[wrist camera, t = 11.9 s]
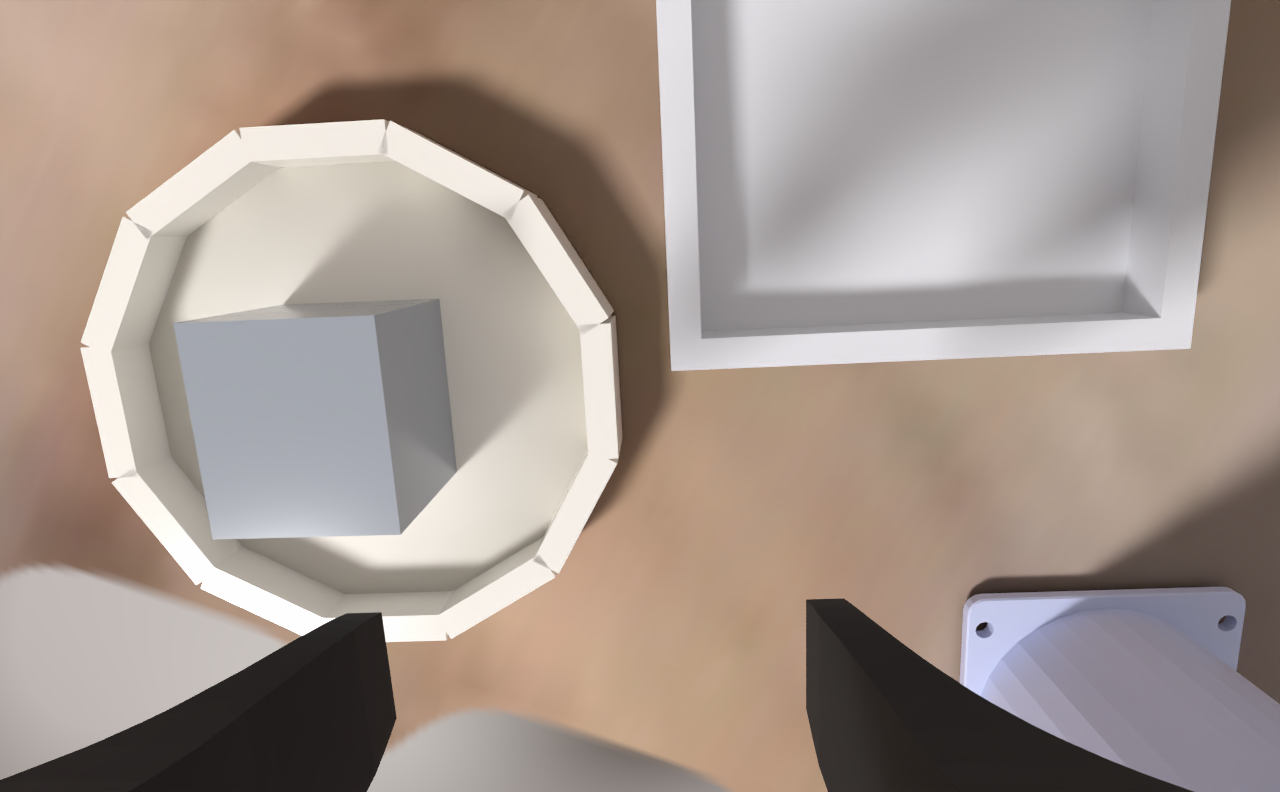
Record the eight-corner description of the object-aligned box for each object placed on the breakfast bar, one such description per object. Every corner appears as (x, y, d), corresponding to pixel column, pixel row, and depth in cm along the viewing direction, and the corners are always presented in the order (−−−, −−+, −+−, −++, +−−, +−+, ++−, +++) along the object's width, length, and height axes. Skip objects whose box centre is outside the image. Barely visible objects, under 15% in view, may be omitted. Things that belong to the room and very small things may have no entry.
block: (456, 471, 21) (400, 535, 16) (308, 476, 21) (212, 539, 16) (439, 298, 19) (373, 315, 15) (283, 304, 20) (173, 322, 15)
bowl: (631, 599, 22) (628, 635, 20) (191, 613, 22) (146, 648, 20) (604, 120, 19) (597, 106, 17) (97, 150, 19) (34, 139, 18)
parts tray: (1138, 338, 20) (1190, 348, 18) (670, 358, 20) (671, 371, 18) (1192, -203, 17) (1261, -261, 15) (649, -162, 17) (647, -213, 15)
